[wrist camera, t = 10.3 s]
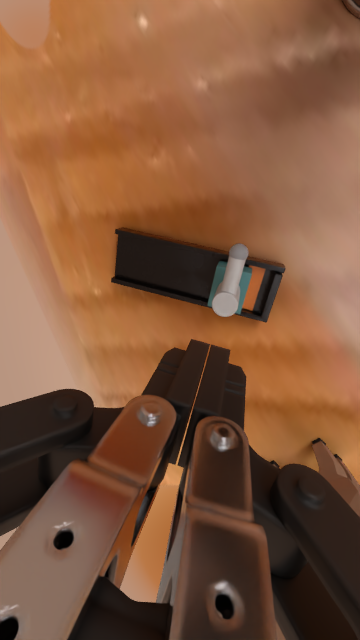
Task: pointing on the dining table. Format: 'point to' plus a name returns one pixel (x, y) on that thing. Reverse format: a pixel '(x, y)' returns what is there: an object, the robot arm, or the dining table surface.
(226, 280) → the handle
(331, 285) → the dining table surface
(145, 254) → the rail
